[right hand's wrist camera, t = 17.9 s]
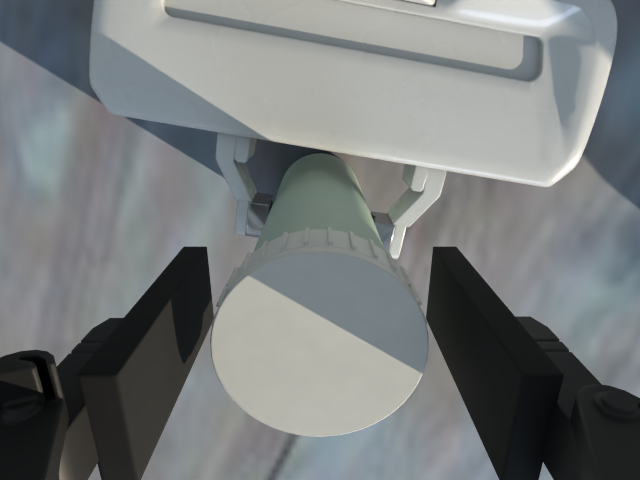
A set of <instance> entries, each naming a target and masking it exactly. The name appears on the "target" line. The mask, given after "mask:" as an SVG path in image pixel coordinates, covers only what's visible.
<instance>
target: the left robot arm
mask: <svg viewBox="0 0 640 480" xmlns="http://www.w3.org/2000/svg"><path fill="white" fill-rule="evenodd" d="M617 29H618V24H617V15H616V11H615V7H614V5H613V2H612V1H611V0H94V4H93V14H92V24H91V37H90V55H89V78H90V84H91V87H92V89H93V90H94V92H95V93H96V95H97V96H98V98H99V99H100V101H101V102H102V104H103V105H104V106H105V108H106V109H107V110H108V111H109V112H110V113H112V114H114V115H119V116H124V117H130V118H136V119H142V120H148V121H154V122H160V123H166V124H172V125H178V126H184V127H189V128H195V129H201V130H207V131H213V132H218V133H217V145H216V158H215V159H216V161H217V163H218V165H219V167H220V169H221V171H222V173H223V176H224V178H225V180H226V182H227V184H228V186H229V188H230V190H231V192H232V194H233V196H234V199H236V200H238V201H237V211H236V221H235V234H237V235H242V236H251V237H260V235H261V232H262V230H263V227H264V225H265V222H266V220H267V217H268V215H269V212H270V210H271V207H272V205H273V197H274V196H272V195H267V194H261V193H257V190H256V187H255V185H254V182H253V180H252V178H251V175H250V173H249V170H248V168H247V165H246V162H247V161H248V160H249V159H250V158H251V157H252V156H253V155H254V154H255V147H256V139H261V140H267V141H273V142H279V143H285V144H291V145H297V146H303V147H308V148H314V149H320V150H326V151H332V152H338V153H344V154H350V155H356V156H362V157H368V158H374V159H380V160H386V161H392V162H398V163H404V164H405V167H404V171H403V176H402V179H403V180H404V182H405V183H406V184H407V185H408V186H409V188H408V189H407V191H406V192H405V193H404V194H403V195H402V196H401V197H400V199H399V200H398V201H397V202H396V203H395V204H394V205H393V207H392V208H391V209H390V210H389V211H388V212H387V214H386V213H378V212H371V216H372V219H373V221H374V224H375V226H376V229H377V231H378V234H379V237H380V239H381V242H382V244H383V247H384V249H385V252H387V251H389V252H390V253H391V256H392V258H393V259H397V258H398V257H399V254H400V251H401V247H402V243H403V239H404V235H405V231H406V227H410V226H411V225H412V224H413V223H414V222H415V221H416V220H417V219H418V218H419V217H420V216H421V215H422V214H423V213H424V212H425V211H426V210H427V209H428V208H429V207H430V206H431V205H432V204H433V203H434V202H435V201H436V200H437V199H438V198H439V197H440V194H441V191H442V187H443V184H444V180H445V176H446V173H447V171H451V172H457V173H463V174H469V175H475V176H481V177H487V178H493V179H499V180H505V181H511V182H517V183H523V184H529V185H535V186H541V187H549V186H551V185H553V184H554V183H556V182H557V181H559V180H560V179H561V178H562V177H564V176H565V175H566V174H567V173H569V172H570V171H571V170H572V169H574V167H575V166H576V165H577V163H578V162H579V160H580V158H581V156H582V154H583V151H584V149H585V146H586V144H587V141H588V139H589V136H590V133H591V130H592V128H593V125H594V122H595V119H596V116H597V113H598V110H599V107H600V104H601V100H602V97H603V94H604V90H605V87H606V84H607V80H608V76H609V72H610V69H611V65H612V61H613V57H614V52H615V47H616V42H617Z"/></svg>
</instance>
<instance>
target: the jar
mask: <svg viewBox="0 0 640 480" xmlns="http://www.w3.org/2000/svg"><path fill="white" fill-rule="evenodd" d="M328 227H330V228H332V230H335V231H342V232H346V233H349V232H350V231H351V232H353V233H354V235H356V236H358V237H361V238H363V239H365V240H368V241H369V240H370V239H371V240H373V241H374V244H375V245H376V246H378V247H379V248H381V249H382V250H383V251H384V252H385V249H384V247H383V244H382V242H381V239H380V237H379V234H378V231H377V229H376V226H375V224H374V221H373V219H372V216H371V214H370V211H369V209H368V206H367V203H366V201H365V198H364V196H363V193H362V191H361V188H360V186H359V183H358V180H357V178H356V176H355V174H354V172H353V170H352V169H351V168H350V167H349V165H348V164H346V163H345V162H344V161H343V160H341V159H340V158H338V157H336V156H333V155H330V154H324V153H315V154H310V155H307V156H304V157H302V158H300V159H298V160H297V161H295V162H294V163H293V164H292V165H291V166H290V167H289V168H288V170H287V171H286V173H285V175H284V177H283V180H282V182H281V185H280V187H279V190H278V192H277V195H276V197H275V200H274V202H273V205H272V207H271V210H270V212H269V215H268V217H267V220H266V222H265V225H264V227H263V230H262V232H261V235H260V237H259V240H258V242H257V245H256V247H255V250H254V251H256V250H257V249H259V248H260V247H261V246H263V243H264V241H266V240H267V241H268V242H270V241H272V240H274V239H276V238H278V237H281V236H283V233H285V232H288V234H289V233H294V232H298V231H303V230H305V228H309V230H313V229H325V230H327V228H328Z"/></svg>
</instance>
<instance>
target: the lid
mask: <svg viewBox="0 0 640 480" xmlns="http://www.w3.org/2000/svg"><path fill="white" fill-rule="evenodd" d="M421 304H422V303H421V300H420V298H419V296H418V294H417V292H416V290H415V288H414V285H413V283H412V282H410V280H409V278H408V276H407V274H406V272H405V269H404V268H403V266H400V267H399V266H398V264H397V263H396V262H395V261H394V260H393V258H392V256H391V253H390V252H389V251H387V252H384V251H383V250H382V249H381V248H379V247H378V246H376V245H375V244H374V241H373V240H371V239H370V240H369V241H368V240H365V239H363V238H361V237H358V236H356V235H354V233H353V232H351V231H350V232H349V233H346V232H342V231H335V230H332V228H330V227H328V228H327V230H325V229H313V230H309V228H305V230H303V231H298V232H294V233H289V234H288V232H285V233H283V236H281V237H278V238H276V239H274V240H272V241H270V242H268V241H267V240H266V241H264V243H263V246H261V247H260V248H259V249H257V250H256V251H254V252H253V253H252V254H251V253H250V252H249V253H248V254H247V256H246V258H245V260H244V262H243V263H242V264H241V266H240V267H239V268H237V267H235V269H234V271H233V273H232V275H231V277H230V279H229V281H228V284H226V286H225V288H224V290H223V292H222V294H221V296H220V298H219V300H218V303H217V305H216V306H217V307H219V308H218V310H217V312H216V314H215V317H214V319H213V321H212V330H211V340H210V346H211V356H212V361H213V365H214V369H215V371H216V374H217V376H218V379H219V381H220V382H221V384H222V386H223V388H224V389H225V391H226V392H227V393H228V395H229V396H230V397H231V399H232V400H233V401H234V402H235V403H236V404H237V405H238V406H239V407H240V408H241V409H243V410H244V411H245V412H247V413H248V414H249V415H250V416H252V417H254V418H255V419H257V420H258V421H260V422H262V423H264V424H266V425H268V426H270V427H273V428H276V429H278V430H281V431H284V432H288V433H293V434H297V435H305V436H335V435H341V434H347V433H351V432H354V431H358V430H361V429H363V428H366V427H368V426H371V425H373V424H375V423H377V422H379V421H380V420H382V419H384V418H385V417H387V416H388V415H390V414H391V413H393V412H394V411H395V410H396V409H397V408H398V407H400V406H401V405H402V404H403V403H404V402H405V401H406V399H407V398H408V397H409V396H410V395H411V393H412V392H413V390H414V389H415V387H416V386H417V384H418V382H419V380H420V378H421V376H422V374H423V371H424V368H425V364H426V361H427V355H428V332H427V326H426V324H427V320H426V318H425V316H424V313H423V311H422V309H421V307H420V305H421Z"/></svg>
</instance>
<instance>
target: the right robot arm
mask: <svg viewBox="0 0 640 480" xmlns="http://www.w3.org/2000/svg"><path fill="white" fill-rule="evenodd" d="M213 319H214V315H213V305H212V295H211V285H210V275H209V265H208V255H207V247H183V248H182V250H181V251H180V252H179V253H178V254H177V256H176V257H175V258H174V259H173V260H172V262H171V263H170V264H169V265H168V266H167V267H166V269H165V270H164V271H163V272H162V273H161V275H160V276H159V277H158V278H157V279H156V281H155V282H154V283H153V284H152V285H151V286H150V288H149V289H148V290H147V291H146V292H145V294H144V295H143V296H142V297H141V298H140V300H139V301H138V302H137V303H136V304H135V305H134V307H133V308H132V309H131V310H130V311H129V313H128V314H127V315H126V316H125V317H124V318H109V319H108V320H106V321H104V322H103V323H101V324H99V325H98V326H96V327H94V328H93V329H92V330H91V331H90V332H89V333H88V334H87V335H86V336H85V337H84V338H83V339H82V340H81V343H79V344H78V345H77V346H76V347H75V348H74V349H73V350H72V353H71V354H68V355H67V357H66V358H65V359H64V360H63V361H62V362H61V363H60V364H59V365H58V366H57V367H56V363H55V359H54V356H53V355H51V354H50V353H49V352H47V351H40V350H29V351H21V352H17V353H13V354H9V355H6V356H3V357H1V358H0V480H88V478H89V476H90V475H91V473H92V471H93V470H94V468H95V466H96V464H97V463H98V467H99V471H100V475H101V479H102V480H141V478H142V475H143V473H144V471H145V469H146V467H147V464H148V462H149V460H150V458H151V456H152V453H153V451H154V449H155V447H156V445H157V442H158V440H159V438H160V436H161V434H162V431H163V429H164V427H165V425H166V423H167V420H168V418H169V416H170V414H171V412H172V410H173V407H174V405H175V403H176V401H177V399H178V396H179V394H180V392H181V390H182V388H183V385H184V383H185V381H186V379H187V377H188V374H189V372H190V370H191V368H192V366H193V363H194V361H195V359H196V357H197V355H198V352H199V350H200V348H201V346H202V344H203V341H204V339H205V337H206V335H207V333H208V330H209V328H210V326H211V324H212V321H213ZM426 319H427V322H428V324H429V326H430V328H431V330H432V333H433V335H434V337H435V339H436V341H437V344H438V346H439V348H440V350H441V352H442V355H443V357H444V359H445V361H446V363H447V366H448V368H449V370H450V372H451V374H452V377H453V379H454V381H455V383H456V385H457V388H458V390H459V392H460V394H461V396H462V399H463V401H464V403H465V405H466V407H467V410H468V412H469V414H470V416H471V418H472V420H473V423H474V425H475V427H476V429H477V431H478V434H479V436H480V438H481V440H482V442H483V445H484V447H485V449H486V451H487V453H488V456H489V458H490V460H491V462H492V464H493V467H494V469H495V471H496V473H497V475H498V478H499V480H538V479H539V475H540V471H541V467H542V463H543V462H544V464H545V466H546V467H547V469H548V471H549V472H550V474H551V476H552V477H553V479H554V480H640V398H638V397H636V396H634V395H632V394H630V393H628V392H626V391H624V390H621V389H618V388H615V387H611V386H607V385H602V384H601V383H600V382H599V381H598V380H597V379H596V378H595V377H594V376H593V375H592V374H591V373H590V372H589V371H588V370H587V368H586V367H585V366H584V365H583V364H582V363H581V362H580V361H579V360H578V359H577V358H576V357H575V356H574V355H573V354H572V353H571V352H569V349H568V348H567V347H566V346H565V345H564V344H563V343H562V342H559V339H558V338H557V337H556V335H555V334H554V333H553V332H552V331H551V330H550V329H549V328H548V327H547V326H545V325H543V324H542V323H540V322H538V321H536V320H535V319H533V318H531V317H515V316H514V315H513V314H512V313H511V311H510V310H509V309H508V308H507V307H506V305H505V304H504V303H503V302H502V301H501V300H500V298H499V297H498V296H497V295H496V294H495V292H494V291H493V290H492V289H491V288H490V286H489V285H488V284H487V283H486V282H485V281H484V279H483V278H482V277H481V276H480V275H479V273H478V272H477V271H476V270H475V269H474V267H473V266H472V265H471V264H470V263H469V262H468V260H467V259H466V258H465V257H464V256H463V254H462V253H461V252H460V251H459V250H458V248H457V247H433V255H432V265H431V275H430V285H429V295H428V305H427V315H426Z"/></svg>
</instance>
